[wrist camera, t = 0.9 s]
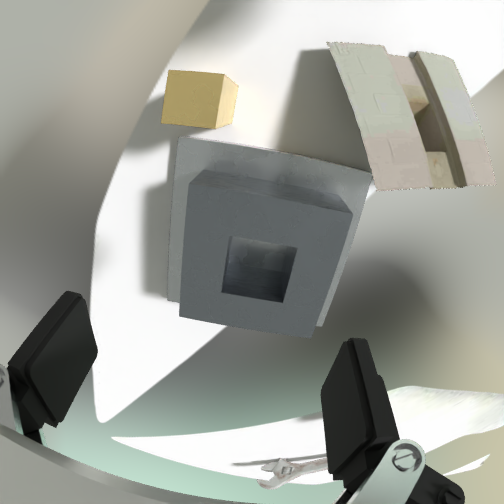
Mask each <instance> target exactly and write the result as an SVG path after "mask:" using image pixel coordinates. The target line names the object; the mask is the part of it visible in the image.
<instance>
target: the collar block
mask: <svg viewBox="0 0 504 504" xmlns="http://www.w3.org/2000/svg"><path fill="white" fill-rule="evenodd" d="M371 178H372V174H371V173H370V172H367V171H364V170H360V169H356V168H352V167H349V166H345V165H341V164H337V163H332V162H328V161H324V160H320V159H315V158H311V157H306V156H302V155H297V154H292V153H287V152H282V151H277V150H272V149H267V148H261V147H255V146H250V145H243V144H237V143H231V142H224V141H217V140H210V139H202V138H194V137H186V136H180V137H178V145H177V154H176V163H175V173H174V184H173V195H172V207H171V222H170V238H169V259H168V292H167V300H168V301H173V302H178V303H180V309H179V316H180V317H185V318H190V319H195V320H200V321H205V322H210V323H216V324H221V325H227V326H232V327H238V328H244V329H251V330H257V331H263V332H270V333H276V334H283V335H291V336H298V337H307V338H311V337H312V334H313V332H314V329H315V326H322V325H323V322H324V320H325V317H326V315H327V312H328V309H329V307H330V304H331V302H332V299H333V296H334V294H335V291H336V288H337V285H338V283H339V280H340V277H341V274H342V271H343V268H344V265H345V263H346V260H347V257H348V254H349V251H350V248H351V245H352V242H353V239H354V236H355V232H356V229H357V226H358V223H359V220H360V216H361V212H362V210H363V206H364V203H365V199H366V196H367V192H368V189H369V185H370V182H371Z"/></svg>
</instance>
